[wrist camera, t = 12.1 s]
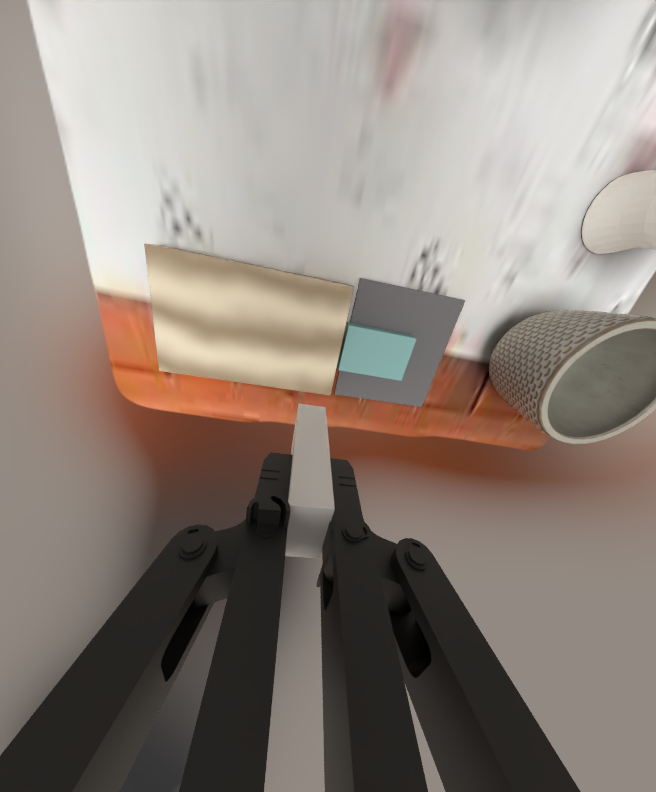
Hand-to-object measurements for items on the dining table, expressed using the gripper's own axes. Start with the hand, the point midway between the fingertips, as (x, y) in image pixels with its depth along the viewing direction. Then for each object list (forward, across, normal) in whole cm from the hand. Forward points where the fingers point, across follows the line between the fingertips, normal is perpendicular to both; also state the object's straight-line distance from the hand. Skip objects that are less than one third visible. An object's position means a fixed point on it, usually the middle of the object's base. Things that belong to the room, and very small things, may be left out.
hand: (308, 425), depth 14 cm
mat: (+22, +12, 0) cm, 25 cm away
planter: (+22, +30, +3) cm, 37 cm away
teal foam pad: (+21, +9, -1) cm, 23 cm away
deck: (+22, -7, 0) cm, 23 cm away
